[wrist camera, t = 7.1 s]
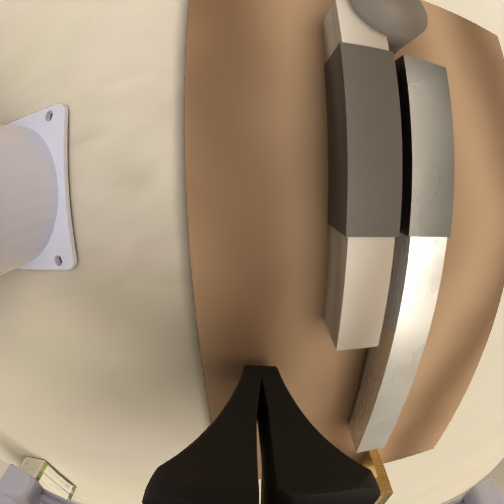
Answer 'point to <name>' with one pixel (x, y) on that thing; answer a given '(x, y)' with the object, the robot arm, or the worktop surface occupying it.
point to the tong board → (288, 209)
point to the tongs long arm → (411, 251)
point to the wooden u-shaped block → (378, 474)
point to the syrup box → (48, 477)
